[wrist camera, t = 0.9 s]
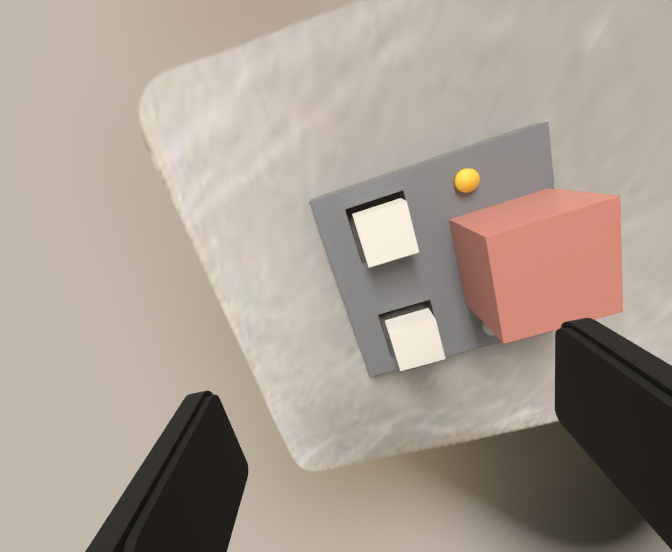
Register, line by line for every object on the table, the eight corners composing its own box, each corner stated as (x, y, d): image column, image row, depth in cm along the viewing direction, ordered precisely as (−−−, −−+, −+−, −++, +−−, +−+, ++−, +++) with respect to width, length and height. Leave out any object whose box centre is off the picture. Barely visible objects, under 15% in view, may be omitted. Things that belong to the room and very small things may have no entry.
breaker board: (530, 125, 23) (554, 120, 20) (551, 313, 28) (571, 327, 25) (311, 199, 25) (308, 203, 22) (367, 363, 30) (370, 381, 27)
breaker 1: (400, 198, 22) (406, 201, 20) (412, 245, 23) (419, 252, 21) (351, 214, 22) (353, 218, 21) (366, 259, 24) (368, 267, 22)
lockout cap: (548, 188, 22) (620, 196, 17) (557, 278, 25) (622, 311, 19) (448, 219, 23) (485, 237, 17) (466, 303, 25) (503, 343, 20)
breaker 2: (428, 307, 25) (435, 319, 23) (437, 345, 26) (445, 359, 24) (384, 320, 25) (388, 332, 23) (395, 356, 26) (400, 371, 25)
